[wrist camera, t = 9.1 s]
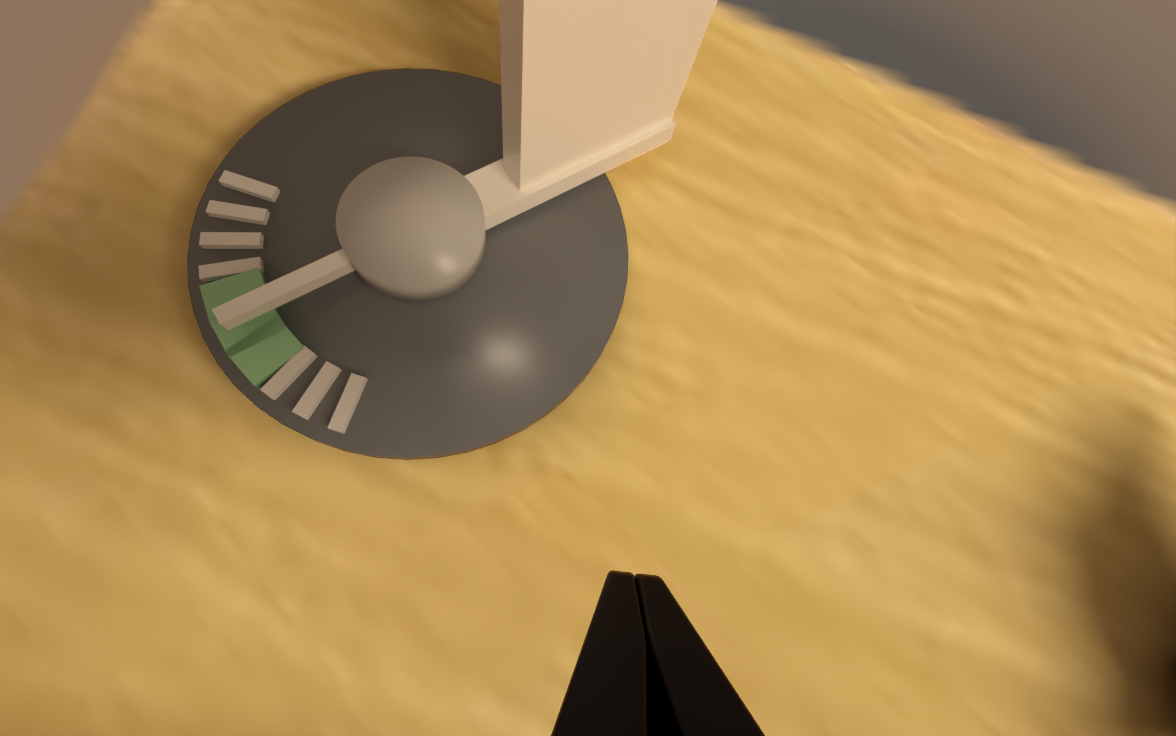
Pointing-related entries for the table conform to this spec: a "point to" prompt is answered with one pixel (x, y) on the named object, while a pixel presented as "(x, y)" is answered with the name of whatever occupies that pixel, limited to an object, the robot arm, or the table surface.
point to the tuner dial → (384, 324)
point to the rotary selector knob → (512, 146)
